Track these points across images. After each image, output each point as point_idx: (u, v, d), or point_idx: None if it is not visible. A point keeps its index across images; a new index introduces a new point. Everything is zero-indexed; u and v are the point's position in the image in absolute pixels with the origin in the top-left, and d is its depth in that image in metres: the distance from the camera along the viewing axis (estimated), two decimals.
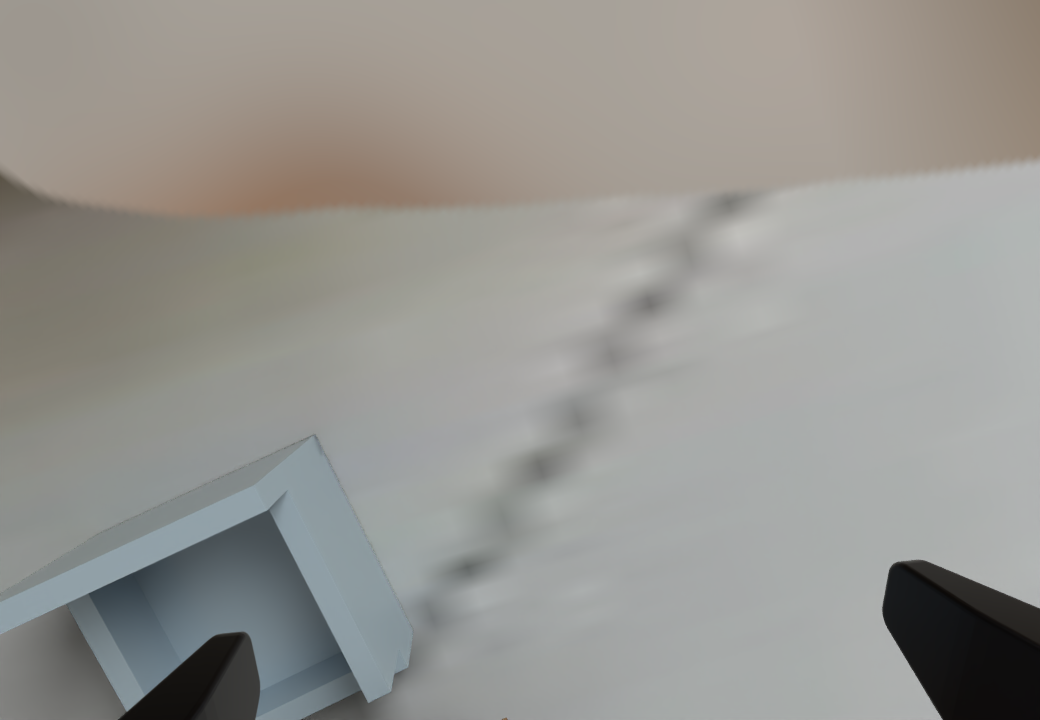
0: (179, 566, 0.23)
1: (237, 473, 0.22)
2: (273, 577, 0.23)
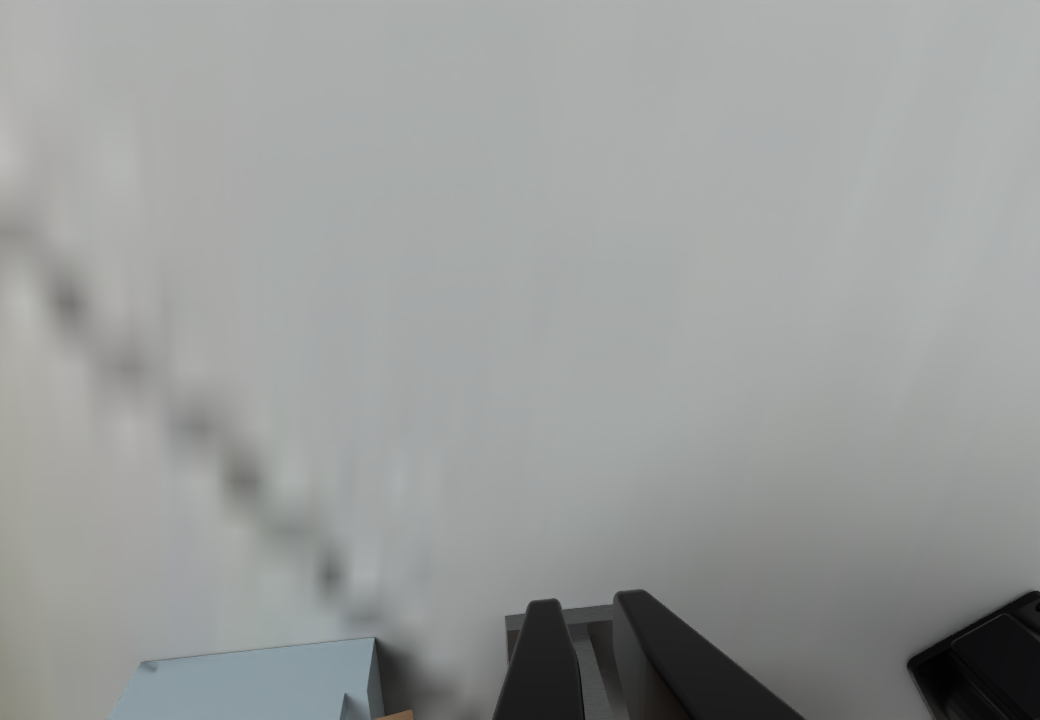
0: None
1: None
2: None
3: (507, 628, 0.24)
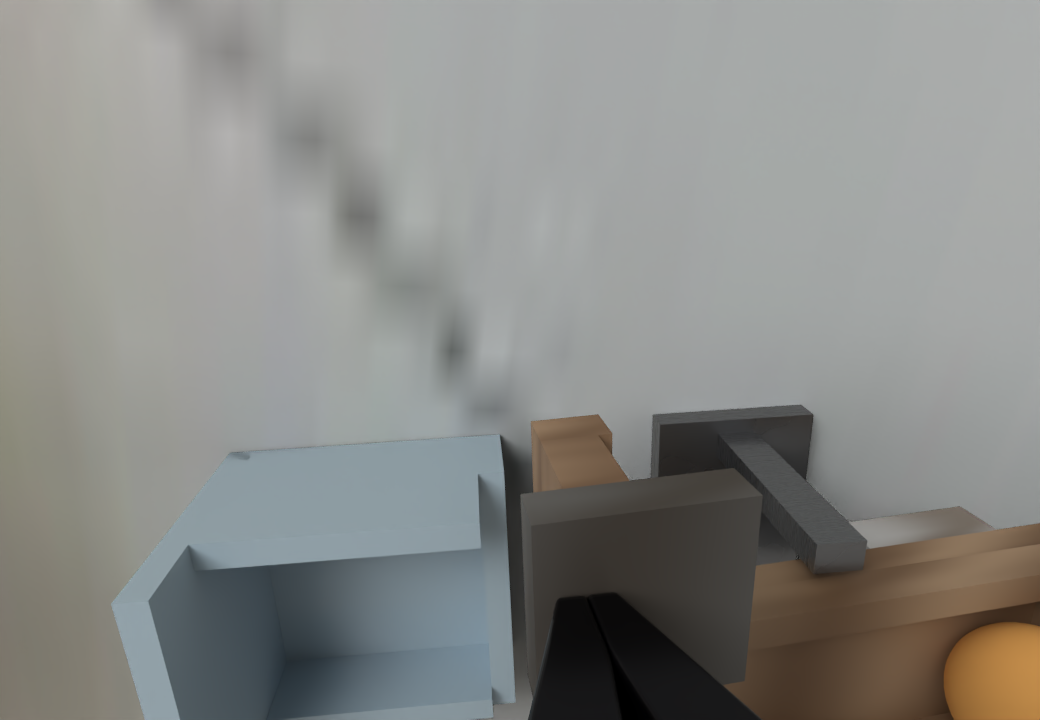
0: (324, 621, 0.21)
1: None
2: None
3: (659, 423, 0.20)
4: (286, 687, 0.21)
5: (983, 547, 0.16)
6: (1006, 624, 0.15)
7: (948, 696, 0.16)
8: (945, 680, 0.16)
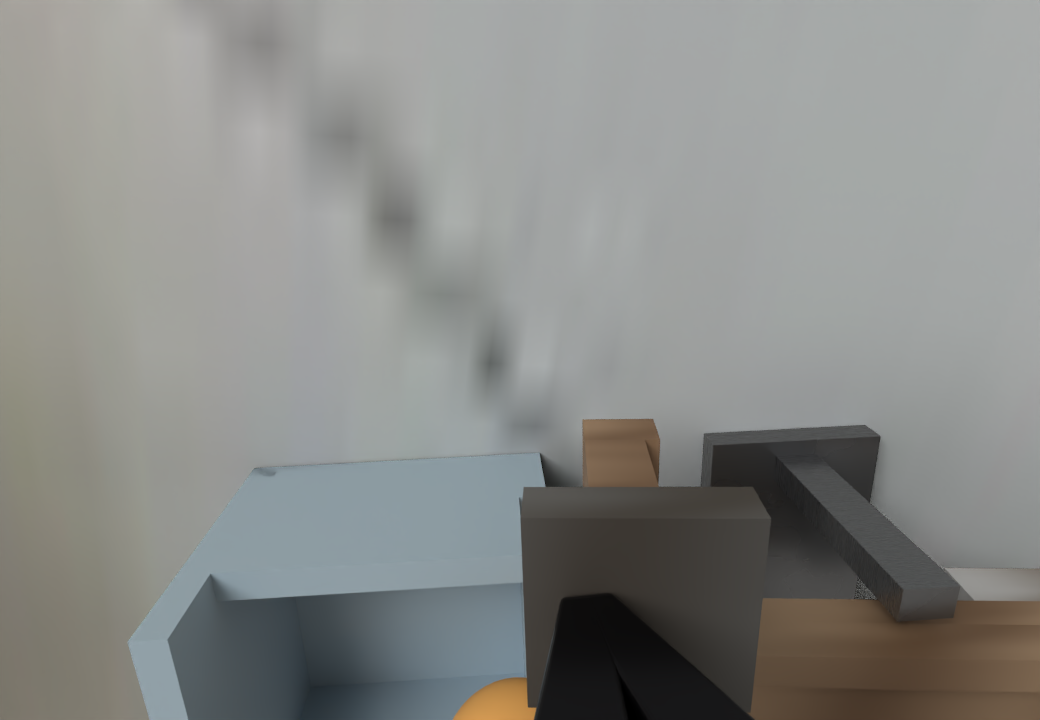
0: (351, 646, 0.20)
1: None
2: None
3: (712, 443, 0.19)
4: (310, 716, 0.20)
5: None
6: None
7: None
8: None
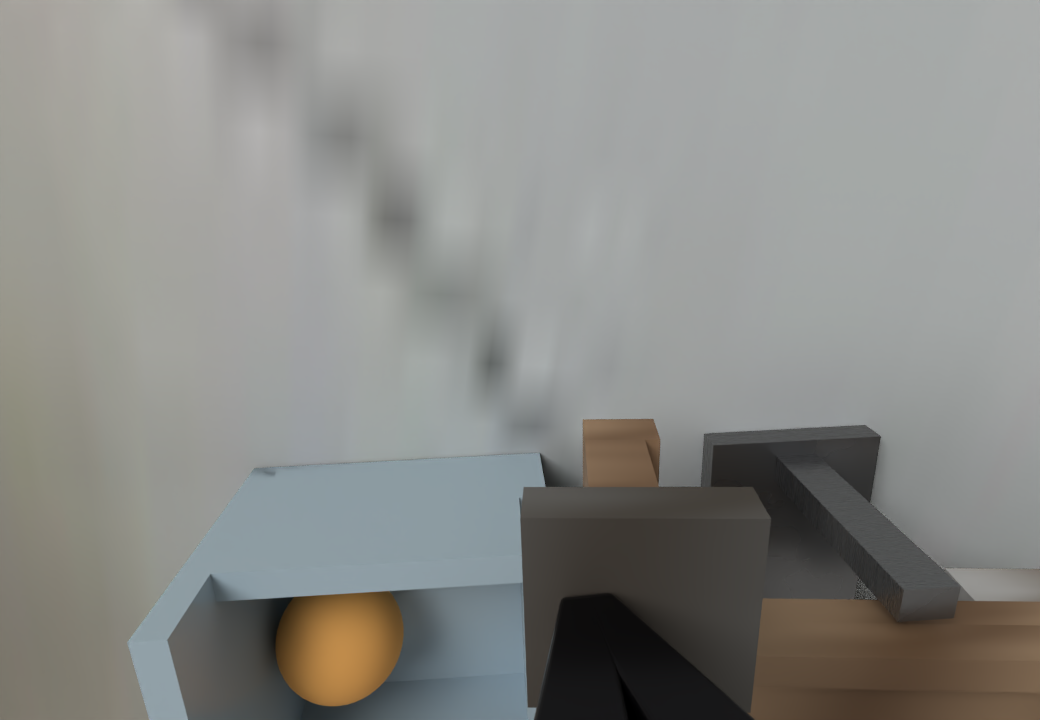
0: None
1: None
2: None
3: (712, 444, 0.19)
4: (310, 716, 0.20)
5: None
6: (302, 609, 0.17)
7: (338, 690, 0.16)
8: (325, 686, 0.16)
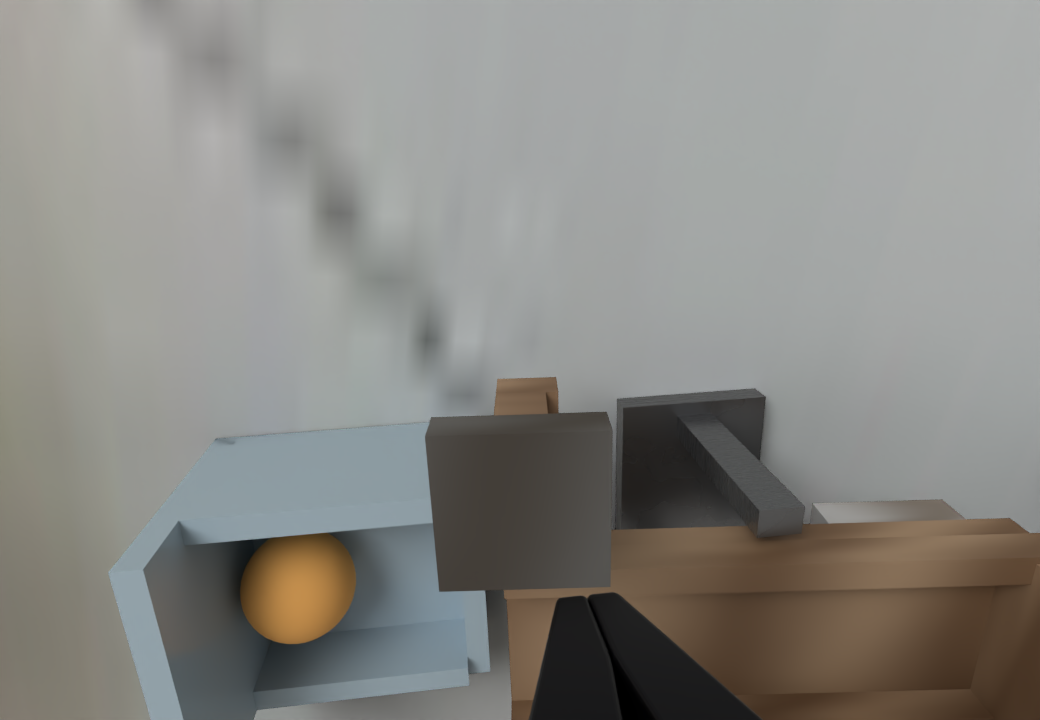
0: None
1: None
2: None
3: (622, 406, 0.21)
4: (272, 662, 0.22)
5: (937, 532, 0.17)
6: (264, 558, 0.19)
7: (299, 626, 0.19)
8: (287, 623, 0.19)
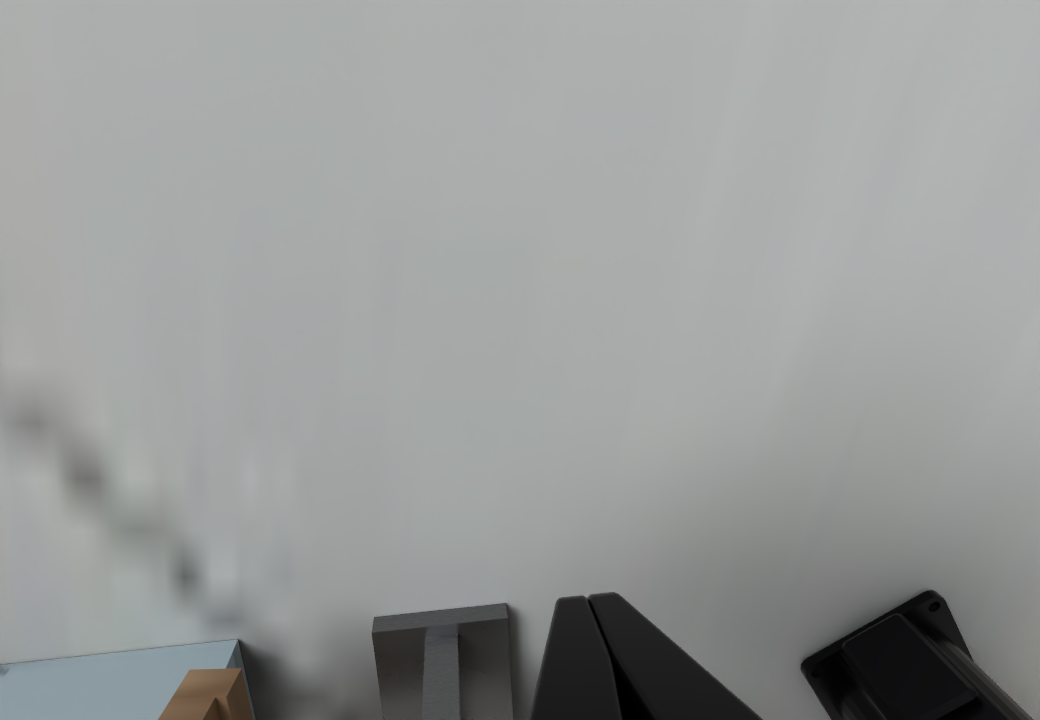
0: None
1: None
2: None
3: (373, 630, 0.23)
4: None
5: None
6: None
7: None
8: None
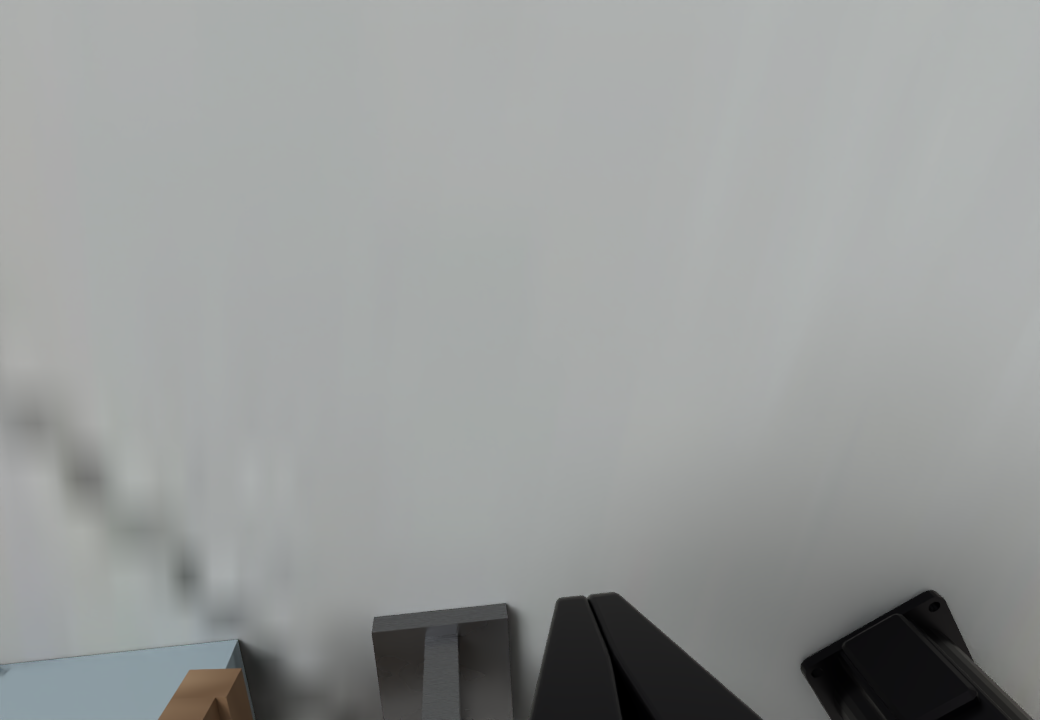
0: None
1: None
2: None
3: (373, 630, 0.23)
4: None
5: None
6: None
7: None
8: None
